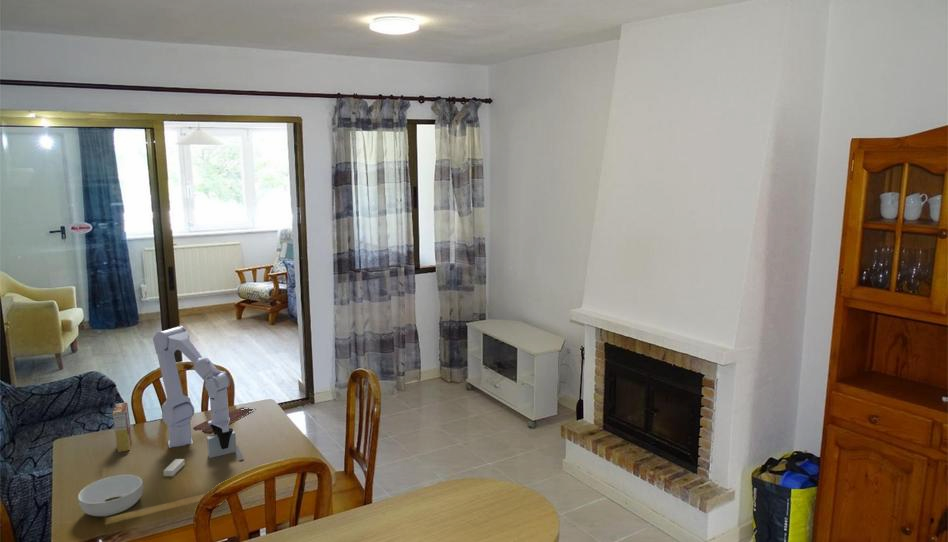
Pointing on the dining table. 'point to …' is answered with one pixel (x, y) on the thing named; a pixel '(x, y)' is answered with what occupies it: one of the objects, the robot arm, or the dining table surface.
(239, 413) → the wooden tablet
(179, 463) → the upper offcut
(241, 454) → the grey mat
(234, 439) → the pale grey rectangular block
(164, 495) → the dining table surface
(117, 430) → the candy box
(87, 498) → the cereal bowl
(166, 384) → the robot arm
